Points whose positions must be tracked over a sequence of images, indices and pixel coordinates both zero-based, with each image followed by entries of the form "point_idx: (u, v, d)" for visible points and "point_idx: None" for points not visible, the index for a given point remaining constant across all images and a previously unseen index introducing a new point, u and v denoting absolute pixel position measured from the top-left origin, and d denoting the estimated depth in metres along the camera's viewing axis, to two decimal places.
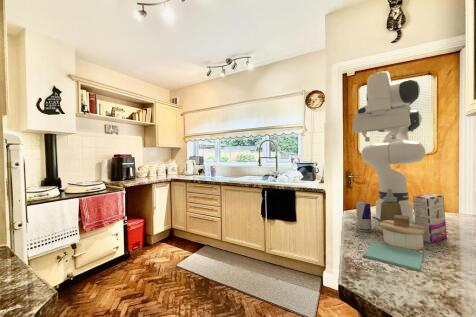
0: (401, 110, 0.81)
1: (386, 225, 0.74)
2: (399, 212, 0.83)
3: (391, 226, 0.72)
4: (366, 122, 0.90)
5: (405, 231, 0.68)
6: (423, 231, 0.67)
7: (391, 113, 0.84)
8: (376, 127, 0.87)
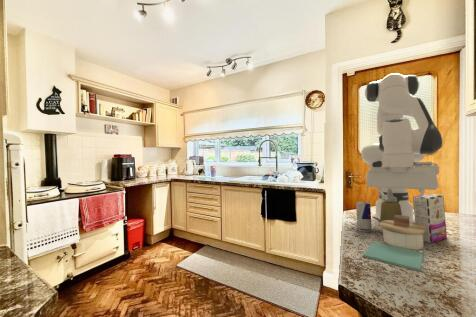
0: (427, 171, 0.67)
1: (386, 225, 0.74)
2: (399, 212, 0.83)
3: (391, 226, 0.72)
4: (383, 178, 0.76)
5: (405, 231, 0.68)
6: (423, 231, 0.67)
7: (414, 172, 0.69)
8: (395, 186, 0.73)
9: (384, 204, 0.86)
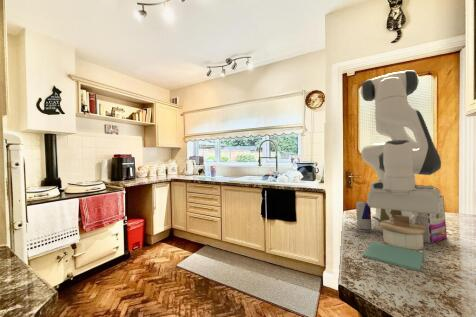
0: (428, 195, 0.67)
1: (386, 225, 0.74)
2: (399, 212, 0.83)
3: (391, 226, 0.72)
4: (384, 199, 0.76)
5: (405, 231, 0.68)
6: (423, 231, 0.67)
7: (415, 195, 0.69)
8: (396, 208, 0.73)
9: None
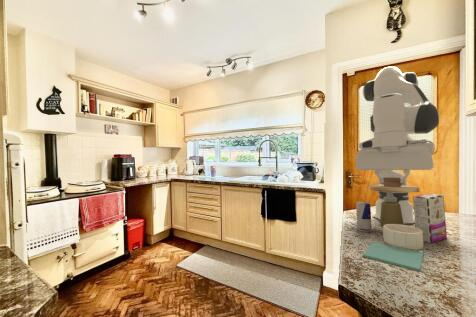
0: (421, 149, 0.61)
1: (375, 186, 0.67)
2: (399, 212, 0.83)
3: None
4: (373, 159, 0.69)
5: (395, 189, 0.61)
6: (415, 189, 0.61)
7: (407, 151, 0.63)
8: (386, 167, 0.67)
9: (384, 204, 0.86)
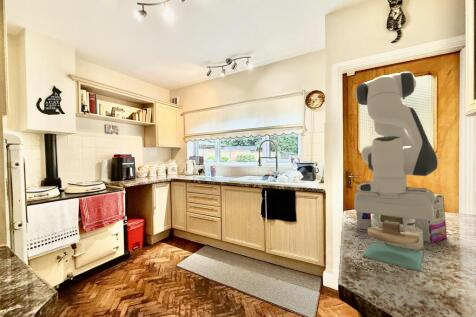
0: (421, 199, 0.59)
1: (374, 232, 0.65)
2: None
3: (379, 233, 0.64)
4: (372, 203, 0.67)
5: (394, 240, 0.59)
6: (415, 240, 0.59)
7: (406, 199, 0.61)
8: (385, 213, 0.65)
9: None
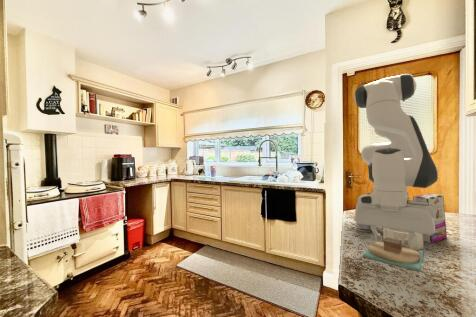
0: (422, 213, 0.59)
1: (375, 250, 0.65)
2: None
3: (380, 251, 0.64)
4: (373, 215, 0.67)
5: (396, 259, 0.59)
6: (416, 259, 0.59)
7: (407, 212, 0.61)
8: (386, 226, 0.65)
9: None
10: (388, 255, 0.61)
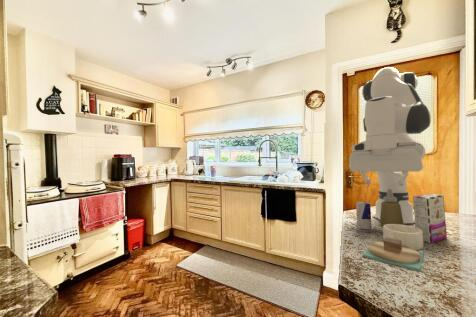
0: (410, 151, 0.63)
1: (375, 250, 0.65)
2: (399, 212, 0.83)
3: (380, 251, 0.64)
4: (365, 161, 0.72)
5: (396, 259, 0.59)
6: (416, 259, 0.59)
7: (397, 153, 0.65)
8: (378, 169, 0.69)
9: (384, 204, 0.86)
10: (388, 255, 0.61)
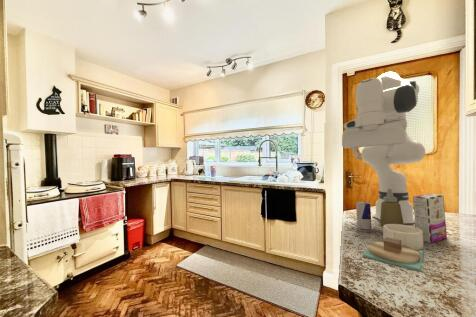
0: (395, 126, 0.70)
1: (375, 250, 0.65)
2: (399, 212, 0.83)
3: (380, 251, 0.64)
4: (356, 137, 0.79)
5: (396, 259, 0.59)
6: (416, 259, 0.59)
7: (384, 128, 0.72)
8: (367, 144, 0.76)
9: (384, 204, 0.86)
10: (388, 255, 0.61)
